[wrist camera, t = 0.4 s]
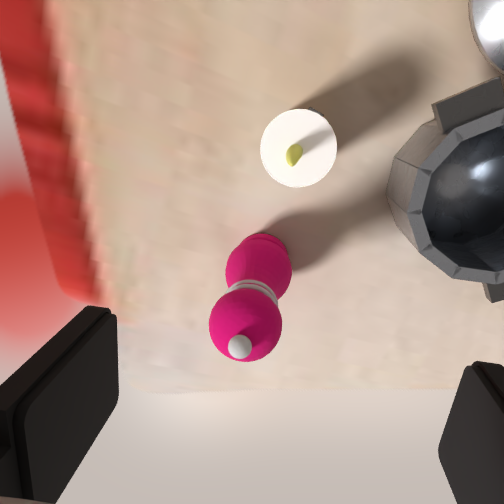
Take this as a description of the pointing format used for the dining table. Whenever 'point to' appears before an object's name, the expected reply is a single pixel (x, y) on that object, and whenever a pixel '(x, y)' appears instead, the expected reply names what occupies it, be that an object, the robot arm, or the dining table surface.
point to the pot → (456, 187)
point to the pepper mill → (251, 299)
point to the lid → (488, 30)
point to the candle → (298, 147)
